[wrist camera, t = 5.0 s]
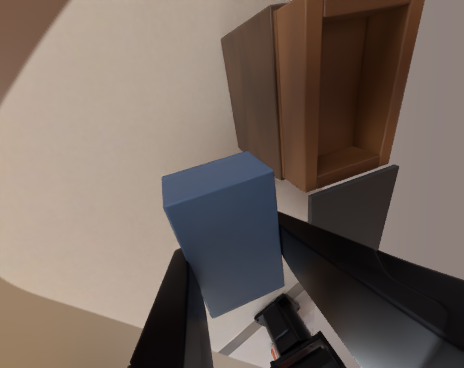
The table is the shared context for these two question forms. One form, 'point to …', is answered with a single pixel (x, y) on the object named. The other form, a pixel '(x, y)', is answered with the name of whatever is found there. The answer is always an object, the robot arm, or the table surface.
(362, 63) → the tray
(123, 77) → the table surface
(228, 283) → the block
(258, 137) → the cabinet body
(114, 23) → the table surface
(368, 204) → the lid
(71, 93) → the table surface
